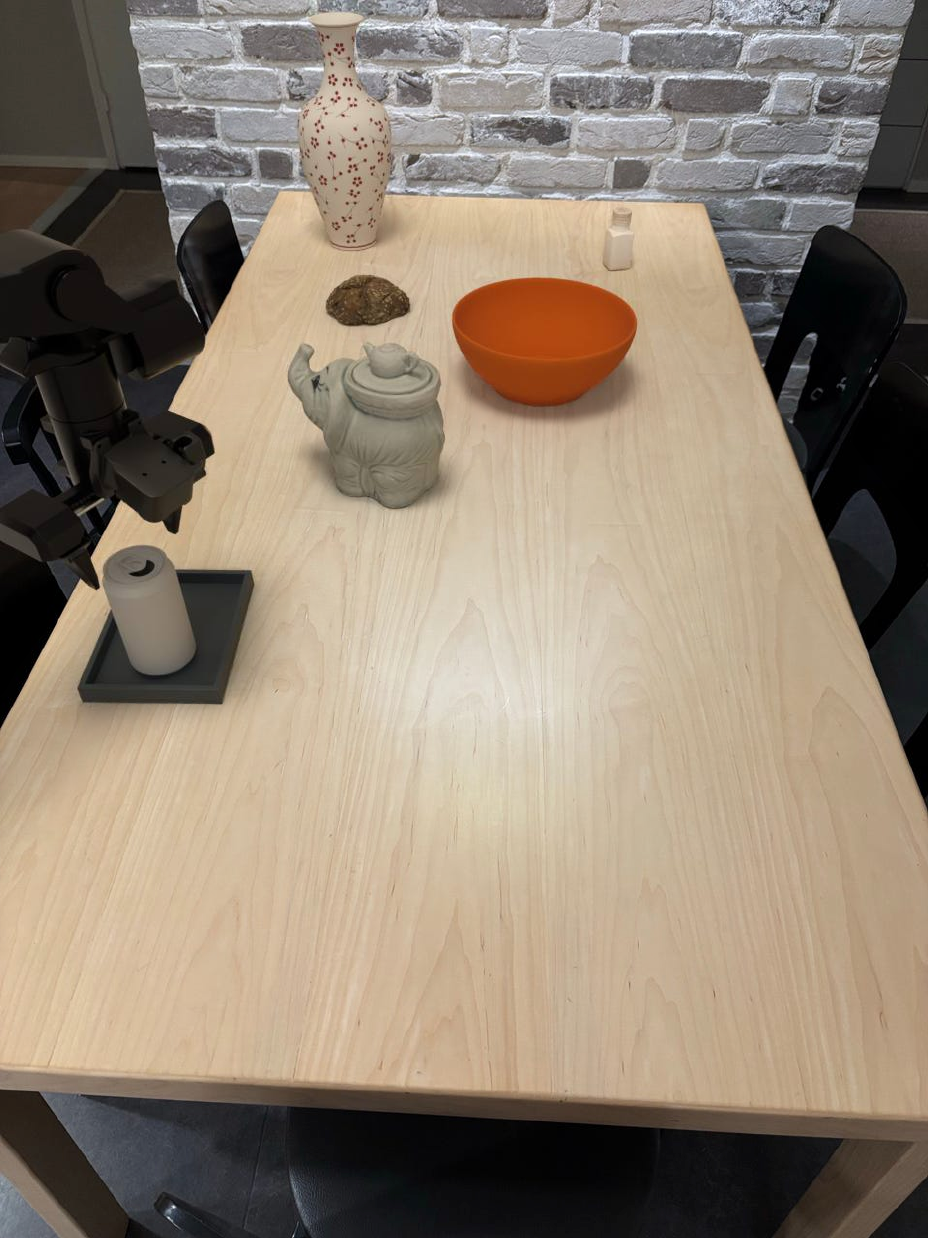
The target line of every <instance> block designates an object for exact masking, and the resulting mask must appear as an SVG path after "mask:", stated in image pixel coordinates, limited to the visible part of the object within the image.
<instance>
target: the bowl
mask: <svg viewBox="0 0 928 1238" xmlns="http://www.w3.org/2000/svg"><path fill="white" fill-rule="evenodd" d="M451 325H452V330H453V335H454V338H455V341H456V343H457V346H458V348H459V350H460V352H461V354H462V355H463V357H464V359H465V360H466V362H467V363H468V364H469V366H470V367H471V368H472V369H473V371H474V372H475V373H476V374H477V375H478V376H479V377H480V378H481V379H482V380H483V381H485V383H487V384H488V385H489V386H490V387H491V388H492V389H494V391H495V392H496V393H497V394H498V395H500V396H501V397H503V398H504V399H506V400H508V401H511V402H513V403H516V404H519V405H523V406H530V407H542V408H543V407H556V406H562V405H566V404H569V403H572V402H575V401H577V400H579V399H580V398H581V397H582V396H584V395H585V394H586V393H587V392H590V390H592V389H593V388H595V387H596V386H598V385H599V384H600V383H602V382H603V381H604V380H606V378H607V377H609V376H610V375H611V374H612V373H613V372H614V371H615V370H616V369H617V368H618V366H619V365H620V364H621V363H622V361H624V359H625V357H626V355H627V354H628V352H629V351H630V349H631V346H632V344H633V342H634V340H635V338H636V337H635V336H636V334H637V330H638V318H637V315H636V312H635V311H634V309H633V308H632V306H631V305H630V304H628V302H627V301H625V300H624V299H623V298H621V297H620V296H619V295H617V294H615V293H613V292H612V291H609V290H607V289H604V288H602V287H599V286H598V285H597V286H596V285H593V284H590V283H586V282H583V281H577V280H572V279H566V278H557V277H540V276H539V277H537V276H536V277H519V278H518V277H517V278H511V279H505V280H499V281H496V282H492V283H488V284H485V285H481V286H480V287H478V288H475V289H473V290H471V291H470V292H468V293H467V294H465V295H464V296H463V297H462V298H460V299H459V300H458V302H457V303H456V304H455V306H454V308H453V311H452V314H451Z"/></svg>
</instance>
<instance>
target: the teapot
mask: <svg viewBox="0 0 928 1238" xmlns="http://www.w3.org/2000/svg"><path fill="white" fill-rule="evenodd" d="M362 347H363V350H364V351H365V353H366V355H365V356H364V357H361V358H358V359H357V360H356V359H353V358H347V357H341V358H336V359H334V360H332V361H331V362H329V363H328V364H326V365H325V367H323V368H322V369H321V370H318V371H314V370H312V368H311V367H310V360H311V359H312V357H313V356H314V354H315V349H314V347H313V346H311V345H310V344H308V343H305V342H302V343H301V344H300V345H299V346H298V349H297V351H296V352H295V354H294V356H293V358H292V360H291V361H290V364H289V366H288V370H287V383H288V385H289V387H290V390H291V391H292V393H293V394H294V396H295V397H296V398H297V399H298V400H299V402H301V407H302V409H303V413H304V414H305V417H307V419H308V420H309V421H310V422H311V423H312V424H313V425H314V426H316V427H317V428H319V429H320V430H321V432H322V436H323V441H324V443H325V445H326V447H327V449H328V459H329V461H330V463H331V464H332V467H333V470H334V482H335V484H336V487H337V489H338V490H339V491H340V492H341V493H342V494H344V495H346V496H349V497H364V496H365V497H366V496H367V497H371V498H374V499H375V500H377V501H378V503H379V504H381V505H382V506H385V507H386V508H390V509H398V508H399V509H400V508H405V507H406V506H409V505H411V504H413V503H414V502H415V501H416V500H417V499H419V497H420V496H421V495H422V494H423V493H424V492H425V491H427V490H428V489H430V488H431V487H433V486H434V485H435V484H436V483H437V481H438V478H439V470H440V469H439V467H440V459H441V455H442V452H443V449H444V444H445V442H446V434H445V431H444V417H443V412H442V408H441V407H440V404H439V401H438V399H437V398H438V396H439V393H440V390H441V387H442V381H441V373H440V371H439V370H438V368H437V367H436V366H435V365H434V364H432V362H430V361H428V360H425V359H423V358H420V357H419V354H417V353H416V352H414V351H408V350H407V349H406V348H405V346H403V345H401V344H399V343H395V342H388V343H383V344H381V345H378V346H376V345H374V344H372V343H370V342H368V341H366V342H364V343H363V345H362Z"/></svg>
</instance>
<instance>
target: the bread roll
mask: <svg viewBox="0 0 928 1238" xmlns="http://www.w3.org/2000/svg"><path fill="white" fill-rule="evenodd" d="M410 307H411V302H410V297H408V295H407V292H405V291H404V290H403V289H401V288H400V287H399V286H398V285H395V283H393V282H391V281H390V280H388V279H387V278H384V277H380V276H375V275H374V274H361V275H360V274H356V275H353V276H351V277H350V278H348V279H346V280H344V281H342V282H341V283H340V284H339V285H337V286H336V287H334V288H333V290H332V291H331V292H330V293H329V296H328V297H327V299H326V300H325V310H326V311H327V312H328V313H330V314H332V315H334V316H336V319H337V321H338V322H340V323H341V324H343V325H347V326H348V325H349V326H360V325H362V324H363V325H376V324H379V323H384V322H387V321H390V320H391V319H394V318H396V317H401V316H404V315H406V314H407V312H408V311H409V310H410Z"/></svg>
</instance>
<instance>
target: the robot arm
mask: <svg viewBox="0 0 928 1238" xmlns="http://www.w3.org/2000/svg"><path fill="white" fill-rule="evenodd" d="M0 337H1V338H9V340H8V342H7V343H6V345H4V346H3V348H2V349H1V351H0V366H2V367H3V368H6V369H7V370H10V371H11V372H13V373H15V374H17V375H19V376H21V377H23V378H25V379H32V378H35V382H36V383H37V387H38V389H39V392H40V395H41V398H42V400H43V404H44V407H45V410H46V412H47V414H46V415H45V416H43V417H41V418H40V422H41V425H42V427H43V430H44V431H46V432H48V433H51V434H52V435H55V437H56V441H57V443H58V446H59V449H60V452H61V455H62V459H60V460H59V461H57V462H56V466H57V470H58V472H59V474H61V475H63V476H64V477H67V478H69V479H70V480H71V483H72V485H73V486H71V487H70V488H68V489H65V491H63V492H62V493H60V494H58V495H57V496H55V497H51V496H49V495H47V494H45V493H43V492H40V491H39V490H37V489H34V488H31V489H29V490H26V492H24V493H23V494H20V495H19V496H17V497H16V498H14V499H12V500H11V501H9V502H7V503H5V504H3V505H2V506H1V507H0V541H1V542H2V543H5V544H6V545H8V546H10V547H12V548H14V549H16V550H18V551H20V552H22V553H24V554H25V555H27V556H30V557H31V558H33V559H35V560H37V561H39V562H40V563H49V562H54V561H60V562H62V563H63V564H64V565H65V566H66V567H67V568H68V569H69V570H71V572H73V573H74V574H75V576H77V578H79V579H80V580H81V581H82V582H83V583H84V584H86V586H88V587H89V588H91V589H92V590H94V591H98V590H100V589H101V584H100V580H99V579H100V578H99V576H98V573H97V572H96V568H95V566H94V563H93V561H92V558H91V556H90V554H89V552H88V549H87V548H88V547H89V545H90V544H91V543H92V539H91V538H89V537H87V536H84V534H85V531H86V530H85V526H84V524H83V522H82V519H81V518H80V516H82V515H84V514H85V513H87V512H88V511H90V510H91V509H93V508H95V507H96V506H97V505H99V504H101V503H102V502H104V501H105V500H106V501H107V500H109V499H110V498H111V497H113V496H115V497H117V498H118V499H119V500H120V501H121V502H123V503H124V504H125V505H127V507H129V508H130V509H132V510H133V511H135V513H137V514H138V516H139V517H140V518H141V519H142V520H144V521H145V522H148V523H151V524H157V523H163V525H164V528H165V529H166V531H167V532H169V533H170V534H173V535H176V534H178V533H179V531H180V525H181V520H182V519H181V517H182V512H183V507H184V506H186V505H188V504H189V503H191V501H192V499H193V491H194V485H195V484H196V483H197V482H199V481H200V480H202V479H203V478H204V477H206V476H207V471H206V463H207V459H209V458H210V457H212V456H213V455H215V454H216V451H215V444H214V439H213V435H212V432H211V431H210V429H209V428H208V427H207V426H206V425H205V424H204V423H202V422H200V421H199V422H198V421H196V420H194V419H191V418H188V417H186V416H184V415H181V414H178V413H175V412H173V411H172V410H168V409H163V410H161V411H160V412H158V413H156V414H155V415H153V416H152V417H150V418H148V419H146V420H145V421H144V420H143V418H141V415H140V413H139V411H137V410H134V409H131V408H129V407H127V404H126V400H125V396H124V393H123V390H122V389H123V388H122V386H121V381H120V379H119V374H120V375H122V376H128V377H130V378H131V379H132V380H134V381H136V382H141V383H142V382H145V381H148V380H150V379H152V378H154V377H156V376H158V375H160V374H162V373H164V372H166V371H168V370H170V369H172V368H174V367H176V366H178V365H180V364H182V363H185V362H187V361H189V360H191V359H193V358H195V357H197V356H199V355H200V354H202V353H203V352H204V349H205V347H206V333H205V328H204V324H203V323H202V322H201V321H199V318H198V315H197V314H196V311H195V310H194V308H193V307H192V306H191V304H190V303H189V301H188V300H187V299H186V298H185V297H184V296H183V295H182V294H181V292H180V289H179V285H178V281H177V280H176V279H174V278H171V277H169V276H166V275H164V274H161V273H157V274H155V275H152V276H150V277H147V278H146V279H144V280H143V281H142V282H141V283H139V284H137V285H135V286H134V285H133V286H132V287H130V288H126V289H124V290H122V291H120V292H115V290H113V289H112V288H111V287H110V286H108V285H107V284H106V282H105V277H104V275H103V272H102V269H101V267H100V266H99V265H98V263H97V262H96V260H95V259H94V258H93V257H91V256H90V255H89V254H87V253H86V252H85V251H83V250H81V249H78V248H76V247H73V246H72V245H69V244H66V243H63V242H61V241H58V240H56V239H53V238H51V237H49V236H46V235H43V234H41V233H38V232H36V231H33V230H29V229H25V228H23V229H22V228H21V229H20V228H19V229H18V228H17V229H16V228H15V229H11V230H8V231H6V232H3V233H1V234H0Z"/></svg>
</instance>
